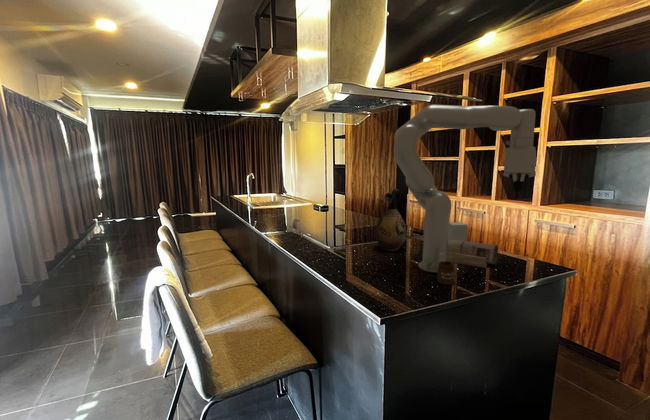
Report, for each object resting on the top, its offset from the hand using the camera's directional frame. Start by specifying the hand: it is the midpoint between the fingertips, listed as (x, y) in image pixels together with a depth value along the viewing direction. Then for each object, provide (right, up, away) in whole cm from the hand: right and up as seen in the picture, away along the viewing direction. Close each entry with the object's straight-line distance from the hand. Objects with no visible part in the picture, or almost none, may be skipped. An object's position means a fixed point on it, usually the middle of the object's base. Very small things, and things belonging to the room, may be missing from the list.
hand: (517, 191), depth 122 cm
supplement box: (-9, -27, +36) cm, 45 cm away
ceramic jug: (-41, -27, +37) cm, 62 cm away
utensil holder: (-31, -33, -8) cm, 46 cm away
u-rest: (-15, -29, +18) cm, 37 cm away
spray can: (-4, -26, +8) cm, 27 cm away
